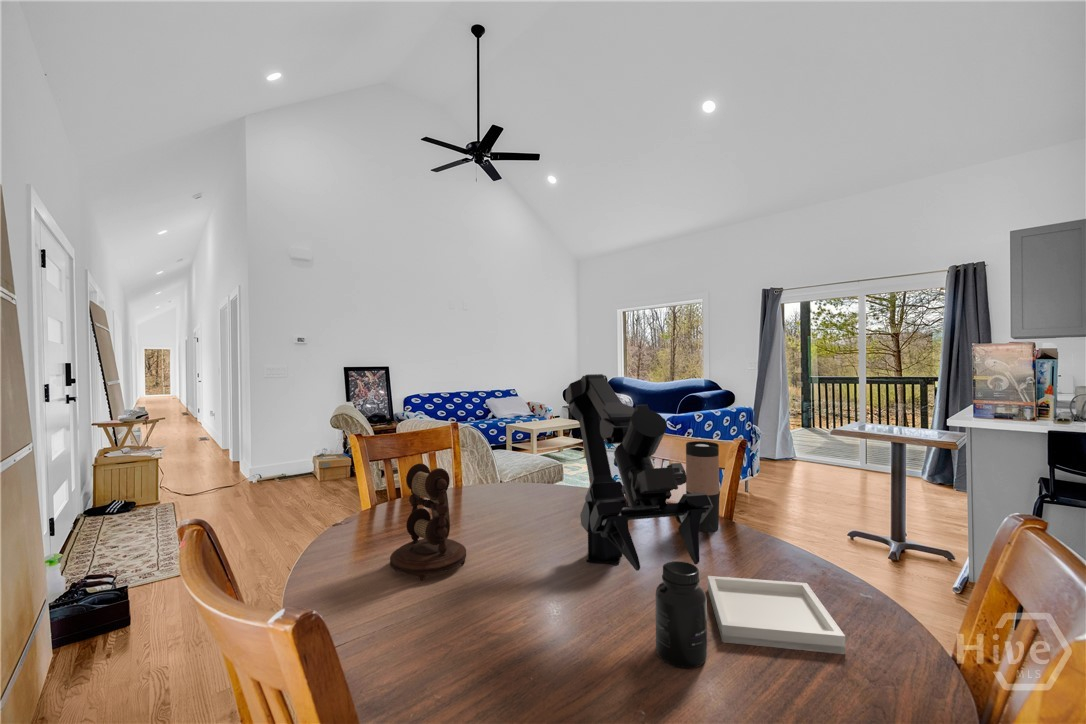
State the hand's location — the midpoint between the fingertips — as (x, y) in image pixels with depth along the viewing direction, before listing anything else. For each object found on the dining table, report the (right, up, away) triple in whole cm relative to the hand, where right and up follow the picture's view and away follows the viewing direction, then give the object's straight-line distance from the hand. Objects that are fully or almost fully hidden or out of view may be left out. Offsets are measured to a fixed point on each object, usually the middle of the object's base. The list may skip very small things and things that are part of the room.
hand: (668, 566), depth 71 cm
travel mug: (+20, -10, +46) cm, 52 cm away
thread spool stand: (-41, -11, +26) cm, 50 cm away
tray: (+17, -10, +5) cm, 21 cm away
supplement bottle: (+1, -11, -4) cm, 11 cm away
